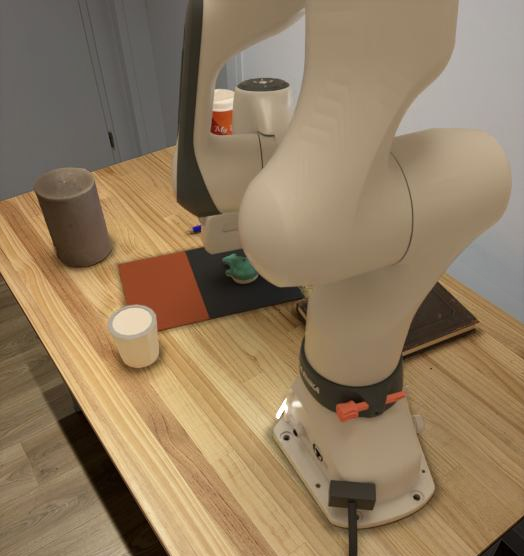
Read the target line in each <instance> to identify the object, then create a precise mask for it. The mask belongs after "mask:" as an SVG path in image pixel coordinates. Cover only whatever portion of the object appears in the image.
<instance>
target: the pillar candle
mask: <svg viewBox="0 0 524 556" xmlns="http://www.w3.org/2000/svg"><path fill="white" fill-rule="evenodd" d="M33 185H34V186H33V190H34V193H35V196H36V198H37V201H38V205H39V207H40V210H41V212H42V216H43V218H44V223H45V225H46V228H47V229H48V234H49V236H50V239H51V242H52V246H53V247H54V249H55V251H56V253H55V254H56V258H57V259H58V260H59V261H60V262H61V263H62V264H64V265H66V266H67V267H68V266H69V267H73V268H83V267H84V268H85V267H89V266H93V265H95V264H98V263H100V262H102V261H104V260H105V259H106V258H107V257H108V256H109V255H110V254H111V253H110V252H111V250H112V242H111V239H110V234H109V230H108V227H107V226H108V225H107V223H106V222H107V221H106V217H105V215H104V211H103V207H102V203H101V199H100V195H99V192H98V187H97V184H96V179H95V176H94V175H93V174H92V173H91V172H90V171H89V170H87V168H81V167H80V168H79V167H61V168H56V169H52V170H49V171H47V172H46V173H44V174H42V175H41V176H40V177H38V178H37V180H36V181H35V182H34V184H33Z"/></svg>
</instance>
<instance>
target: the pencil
mask: <svg viewBox="0 0 524 556" xmlns="http://www.w3.org/2000/svg"><path fill="white" fill-rule="evenodd" d="M200 231H201V224H199V225H196V226H191V228H189V229H188V230H187V233H197V232H200Z"/></svg>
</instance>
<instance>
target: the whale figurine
mask: <svg viewBox="0 0 524 556" xmlns="http://www.w3.org/2000/svg"><path fill="white" fill-rule="evenodd" d="M222 261H223V263H225V264H228V265H229V267H230V269H229V270H226V272H225V274H226V275H227V276H229V277H232V278H233V280H234V281H235V282H237V283H240V284H247V283H250V282H252V281H254V280H255V279H256V278H257V277H258V274H259V273H258V272H257V271H256V270H255V269H254V267H253V266H252V265H251V264H250V262H249V260H248V259H247V258H246V257H237V255H236V254H232V255H230V256H227V257H225V258H223V259H222Z"/></svg>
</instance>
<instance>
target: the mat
mask: <svg viewBox="0 0 524 556" xmlns="http://www.w3.org/2000/svg"><path fill="white" fill-rule="evenodd" d="M232 254H236V255H237V257H246V255H245V253H244V251H243V248H242V249H237V250H232V251H227V252H222V253H217V254H210V253H208V252H207V251H206V250H205V248H204V246H202V247H198V248H193V249H192V248H191V249H187V250H182V251H178V252H173V253H168V254H162V255H159V256H158V255H157V256H152V257H146V258H142V259H137V260H132V261H127V262H122V263H118V264H117V267H118V272H119V277H120V281H121V285H122V290H123V293H124V294H123V295H124V298H125V303H126V306H129V305H143V306H146V307H148V308H150V309H152V310H153V311H154V313H155V314H156V320H157V332H161V331H165V330H169V329H174V328H178V327H181V326H187V325H191V324H196V323H200V322H204V321H208V320H209V321H210V320H212V319H217V318H222V317H227V316H231V315H235V314H240V313H244V312H248V311H252V310H257V309H262V308H266V307H270V306H275V305H279V304H284V303H288V302H292V301H297V300H301V299H304V298H305V296H304V294H303V292H302V290H301V289H300V286H295V287H277V286H275V285H274V284H272V283H270V282H269V281H267V280H266V279H264V278H263V277H262V276H261V275H260V274H258V277H257V278H256V279H255V280H254V281H252V282H250V283H247V284H240V283H237V282H235V281H234V280H233V278H232V277H229V276H227V275H226V274H225V272H226V270H229V269H230V267H229V265H228V264H225V263H223V261H222V259H223V258H225V257H227V256H230V255H232ZM246 258H247V257H246Z"/></svg>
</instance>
